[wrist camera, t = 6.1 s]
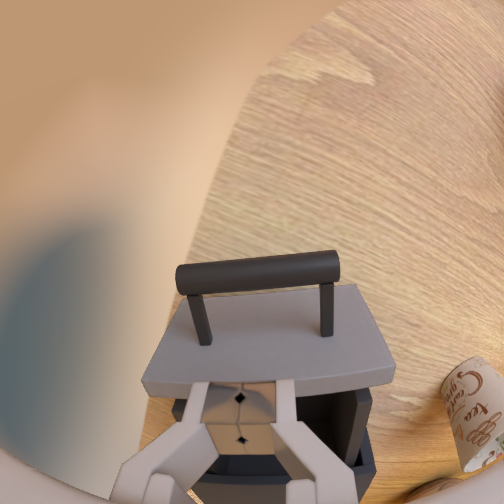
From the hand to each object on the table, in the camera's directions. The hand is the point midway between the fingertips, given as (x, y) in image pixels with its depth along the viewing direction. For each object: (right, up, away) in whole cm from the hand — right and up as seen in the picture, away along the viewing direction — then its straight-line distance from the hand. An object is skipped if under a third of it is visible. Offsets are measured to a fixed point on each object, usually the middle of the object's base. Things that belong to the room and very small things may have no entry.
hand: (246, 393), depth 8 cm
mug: (+24, -10, +14) cm, 30 cm away
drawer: (+2, -3, +12) cm, 12 cm away
